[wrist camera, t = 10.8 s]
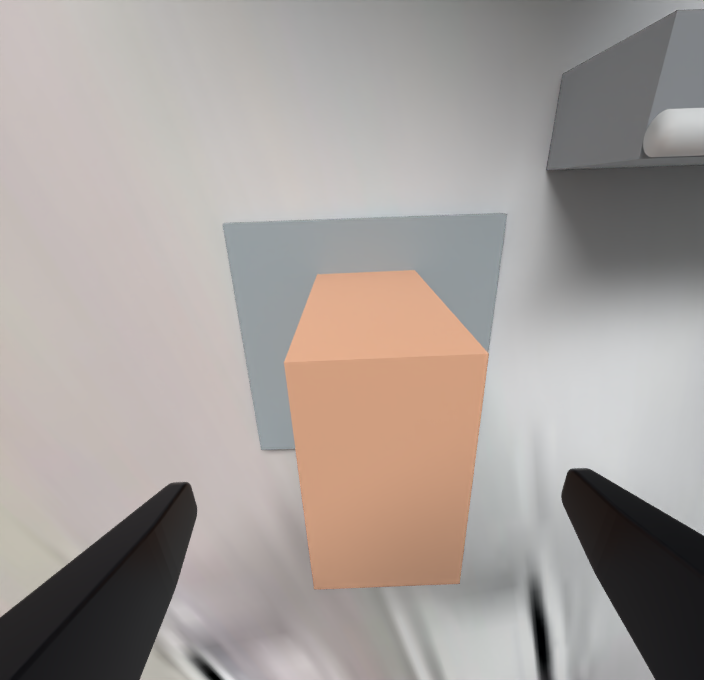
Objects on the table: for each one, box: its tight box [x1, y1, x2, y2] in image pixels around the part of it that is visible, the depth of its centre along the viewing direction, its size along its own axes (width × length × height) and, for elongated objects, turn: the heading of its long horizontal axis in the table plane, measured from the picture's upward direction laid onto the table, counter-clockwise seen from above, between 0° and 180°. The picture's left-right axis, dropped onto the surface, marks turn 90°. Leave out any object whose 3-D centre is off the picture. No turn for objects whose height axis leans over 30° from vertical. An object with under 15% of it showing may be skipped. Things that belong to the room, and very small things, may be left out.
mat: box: [223, 213, 507, 450], centre depth 16 cm, size 11×11×1 cm
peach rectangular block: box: [284, 270, 489, 589], centre depth 12 cm, size 4×7×8 cm, turn 2°
